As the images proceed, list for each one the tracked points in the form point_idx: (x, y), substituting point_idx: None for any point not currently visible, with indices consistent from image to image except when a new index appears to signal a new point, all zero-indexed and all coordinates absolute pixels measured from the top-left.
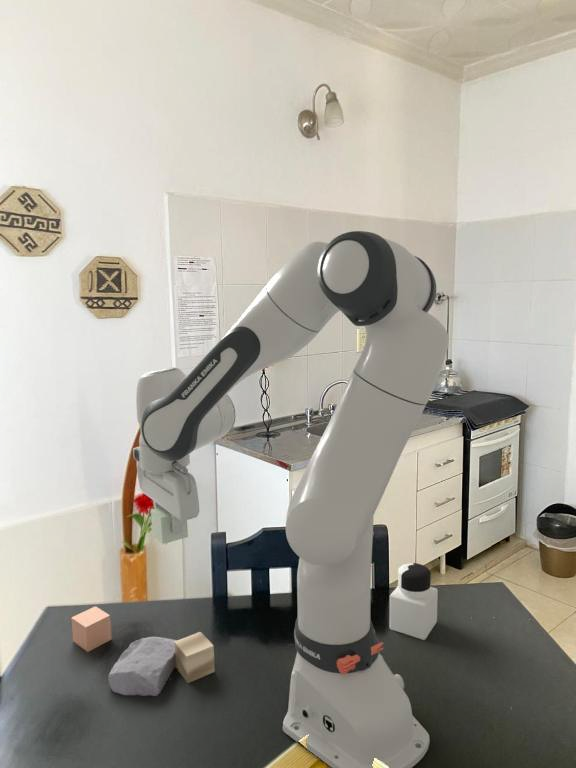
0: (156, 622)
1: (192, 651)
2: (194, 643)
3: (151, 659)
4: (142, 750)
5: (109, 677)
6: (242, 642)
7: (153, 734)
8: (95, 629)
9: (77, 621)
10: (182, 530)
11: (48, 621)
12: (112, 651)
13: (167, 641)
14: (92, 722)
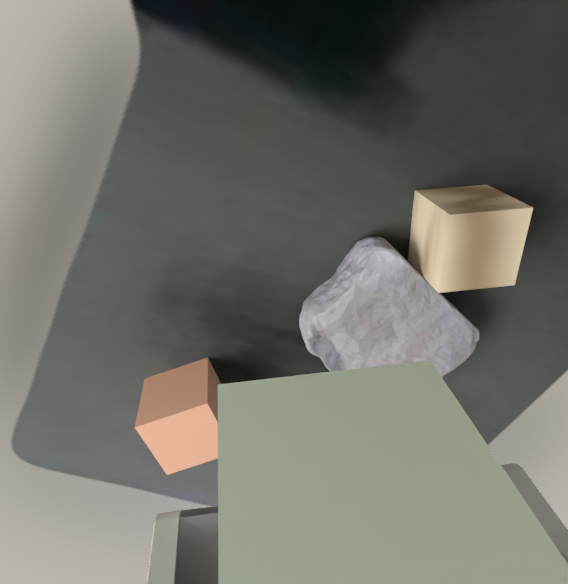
0: (187, 246)
1: (510, 266)
2: (485, 250)
3: (426, 338)
4: (553, 363)
5: None
6: (440, 50)
7: (538, 343)
8: None
9: (194, 464)
10: (526, 475)
11: (51, 461)
12: (259, 363)
13: (377, 284)
14: None
